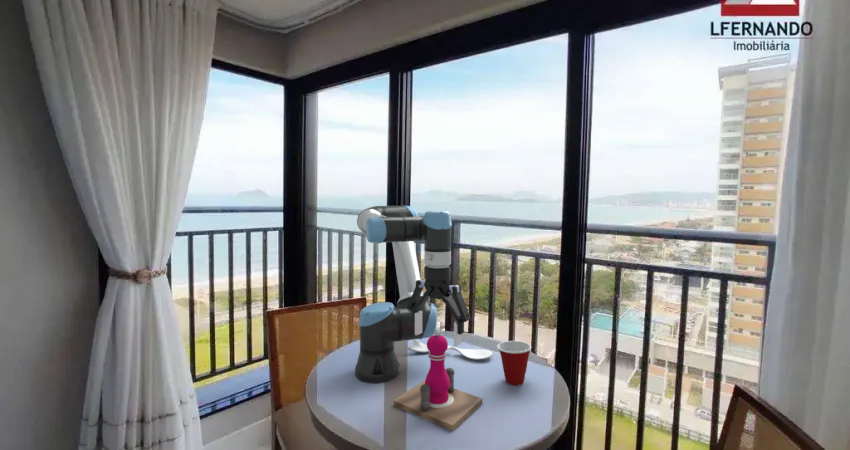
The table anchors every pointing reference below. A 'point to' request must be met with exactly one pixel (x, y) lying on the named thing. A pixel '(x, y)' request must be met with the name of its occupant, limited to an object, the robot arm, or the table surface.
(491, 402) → the table surface
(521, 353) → the plastic cup
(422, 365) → the table surface
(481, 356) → the spoon
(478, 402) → the holder
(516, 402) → the table surface
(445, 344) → the pepper mill
